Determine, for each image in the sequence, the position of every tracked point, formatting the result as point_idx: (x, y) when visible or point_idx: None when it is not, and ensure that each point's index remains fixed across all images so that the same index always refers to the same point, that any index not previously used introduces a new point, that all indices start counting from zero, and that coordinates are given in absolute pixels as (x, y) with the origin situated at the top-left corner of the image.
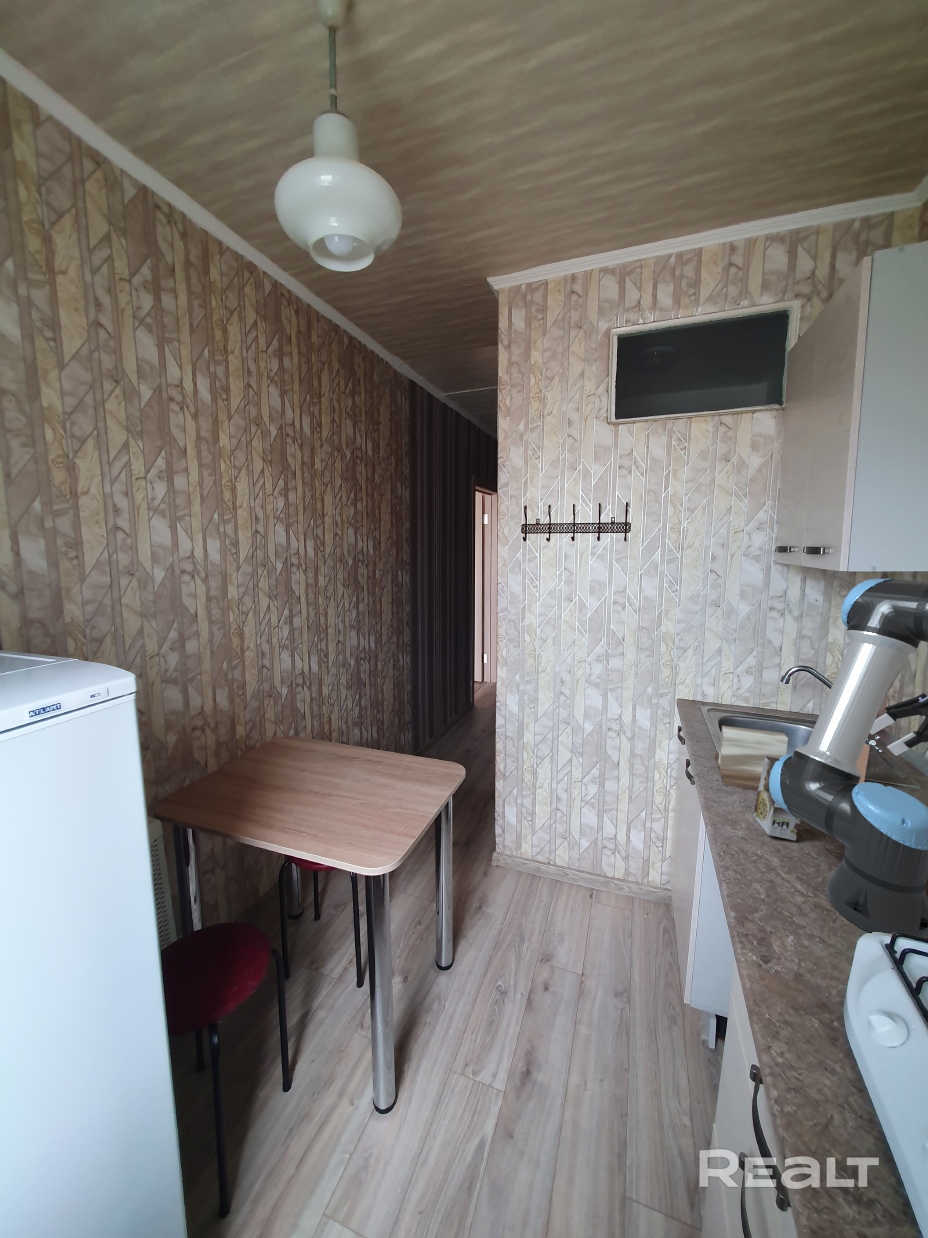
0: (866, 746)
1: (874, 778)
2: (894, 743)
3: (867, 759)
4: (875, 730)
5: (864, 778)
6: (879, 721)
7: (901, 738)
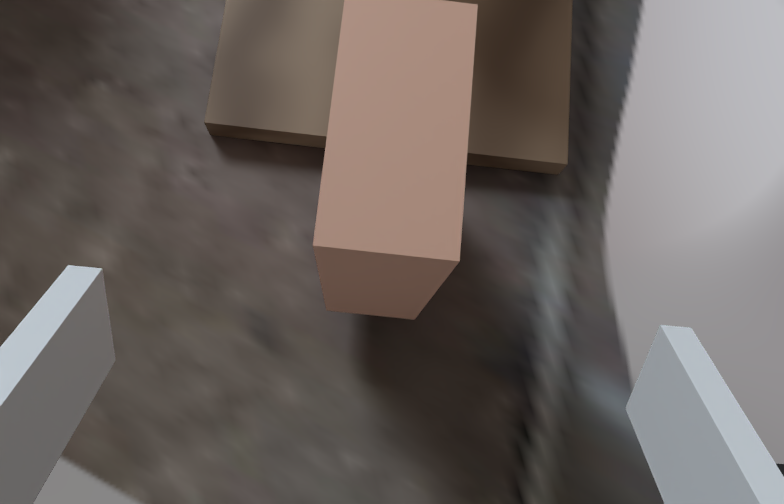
0: (321, 222)
1: (567, 496)
2: (43, 316)
3: (318, 270)
4: (653, 437)
5: (324, 298)
6: (721, 475)
7: (9, 386)
